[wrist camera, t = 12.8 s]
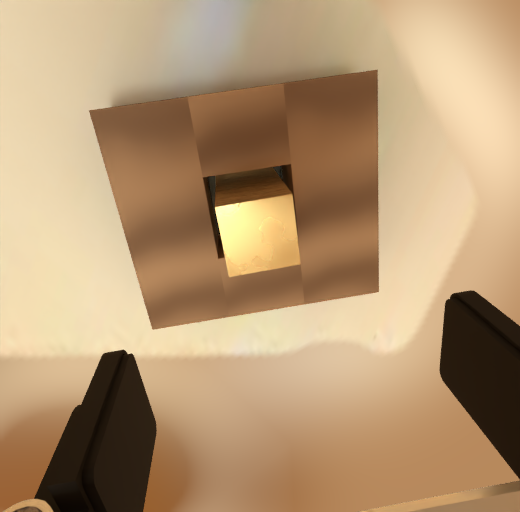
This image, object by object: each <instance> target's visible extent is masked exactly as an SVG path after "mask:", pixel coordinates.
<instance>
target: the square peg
mask: <svg viewBox="0 0 520 512" xmlns="http://www.w3.org/2000/svg"><path fill="white" fill-rule="evenodd" d="M215 211H216V215H217V220H218V225H219V230H220V235H221V240H222V245H223V250H224V255H225V260H226V265H227V269H228V274H229V277H233V276H238V275H244V274H249V273H255V272H260V271H266V270H272V269H277V268H283V267H288V266H294V265H300V264H301V263H300V254H299V246H298V237H297V228H296V220H295V211H294V203H293V194H292V193H291V191H290V190H289V189H288V187H287V186H286V185H285V183H284V182H283V181H282V179H281V178H280V177H279V175H278V174H277V173H276V171H275V170H274V169H273V167H268V168H261V169H255V170H248V171H242V172H235V173H228V174H222V175H216V187H215Z"/></svg>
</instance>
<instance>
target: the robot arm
mask: <svg viewBox="0 0 520 512" xmlns="http://www.w3.org/2000/svg"><path fill="white" fill-rule="evenodd" d="M440 374H441V377H442V380H443V381H444V383H445V384H446V385H447V387H448V388H449V389H450V390H451V392H452V393H453V394H454V396H455V397H456V398H457V399H458V401H459V402H460V403H461V405H462V406H463V407H464V408H465V410H466V411H467V412H468V413H469V415H470V416H471V417H472V419H473V420H474V421H475V422H476V424H477V425H478V426H479V428H480V429H481V430H482V432H483V433H484V434H485V435H486V437H487V438H488V439H489V440H490V442H491V443H492V444H493V446H494V447H495V448H496V449H497V450H498V452H499V453H500V455H501V456H502V457H503V458H504V460H505V461H506V462H507V464H508V465H509V466H510V467H511V469H512V470H513V471H514V473H515V474H516V475H517V476H518V478H519V479H520V326H519V325H518V324H516V323H515V322H514V321H513V320H511V319H510V318H509V317H507V316H506V315H505V314H504V313H502V312H501V311H500V310H498V309H497V308H496V307H495V306H493V305H492V304H491V303H489V302H488V301H487V300H486V299H484V298H483V297H482V296H480V295H479V294H478V293H477V292H475V291H465V292H459V293H454V294H452V295H451V297H450V299H448V300H447V301H446V303H445V313H444V324H443V336H442V348H441V359H440ZM155 438H156V421H155V418H154V415H153V412H152V409H151V406H150V403H149V400H148V397H147V394H146V391H145V388H144V385H143V382H142V379H141V376H140V373H139V370H138V367H137V364H136V361H135V358H134V355H133V354H127V352H126V351H125V350H120V351H114V352H108V353H104V354H103V355H102V357H101V359H100V362H99V364H98V367H97V369H96V371H95V374H94V376H93V378H92V381H91V383H90V385H89V388H88V390H87V392H86V395H85V397H84V400H83V402H82V404H81V405H78V406H77V407H75V409H74V410H73V412H72V414H71V416H70V418H69V421H68V423H67V426H66V427H65V430H64V432H63V434H62V437H61V439H60V441H59V443H58V446H57V448H56V450H55V452H54V455H53V457H52V459H51V462H50V464H49V466H48V468H47V471H46V473H45V475H44V477H43V480H42V482H41V484H40V487H39V489H38V491H37V494H36V495H35V498H34V499H31V500H25V501H23V502H20V503H17V504H15V505H13V506H12V507H10V508H8V509H7V510H5V511H3V512H143V509H144V503H145V497H146V491H147V485H148V478H149V473H150V467H151V462H152V455H153V450H154V444H155ZM360 512H520V481H516V482H510V483H505V484H500V485H494V486H489V487H484V488H479V489H473V490H468V491H463V492H457V493H452V494H447V495H442V496H436V497H431V498H426V499H421V500H416V501H411V502H405V503H400V504H396V505H390V506H385V507H380V508H375V509H369V510H364V511H360Z"/></svg>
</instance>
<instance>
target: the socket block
mask: <svg viewBox="0 0 520 512" xmlns="http://www.w3.org/2000/svg"><path fill="white" fill-rule="evenodd" d="M89 112H90V115H91V119H92V122H93V125H94V129H95V132H96V136H97V139H98V143H99V146H100V150H101V153H102V157H103V160H104V163H105V167H106V170H107V174H108V177H109V181H110V184H111V188H112V191H113V195H114V198H115V202H116V205H117V208H118V212H119V215H120V219H121V222H122V226H123V229H124V233H125V236H126V240H127V243H128V246H129V250H130V253H131V257H132V260H133V264H134V267H135V271H136V274H137V278H138V281H139V284H140V288H141V291H142V295H143V298H144V302H145V305H146V309H147V312H148V316H149V319H150V322H151V326H152V329H159V328H165V327H171V326H177V325H183V324H189V323H195V322H201V321H207V320H213V319H219V318H225V317H231V316H237V315H243V314H249V313H255V312H261V311H267V310H273V309H279V308H285V307H291V306H297V305H303V304H309V303H315V302H321V301H327V300H333V299H339V298H345V297H351V296H357V295H363V294H369V293H375V292H379V258H378V80H377V70H373V71H366V72H359V73H352V74H345V75H338V76H331V77H323V78H316V79H309V80H302V81H295V82H288V83H281V84H274V85H267V86H260V87H253V88H246V89H238V90H231V91H224V92H217V93H210V94H203V95H196V96H189V97H182V98H175V99H168V100H161V101H153V102H146V103H139V104H132V105H125V106H118V107H111V108H104V109H97V110H90V111H89ZM275 166H281V167H282V177H283V182H284V183H285V185H286V186H287V187H288V189H289V190H290V191H291V193H292V194H293V203H294V211H295V220H296V228H297V237H298V246H299V254H300V263H301V264H300V265H294V266H288V267H283V268H277V269H272V270H266V271H260V272H255V273H249V274H244V275H238V276H233V277H229V274H228V269H227V265H226V260H225V255H224V250H223V245H222V240H221V235H220V236H218V232H217V227H216V221H215V216H214V210H213V205H212V200H211V194H210V189H209V183H208V178H207V177H208V176H215V175H222V174H228V173H235V172H242V171H248V170H255V169H261V168H268V167H275Z"/></svg>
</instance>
